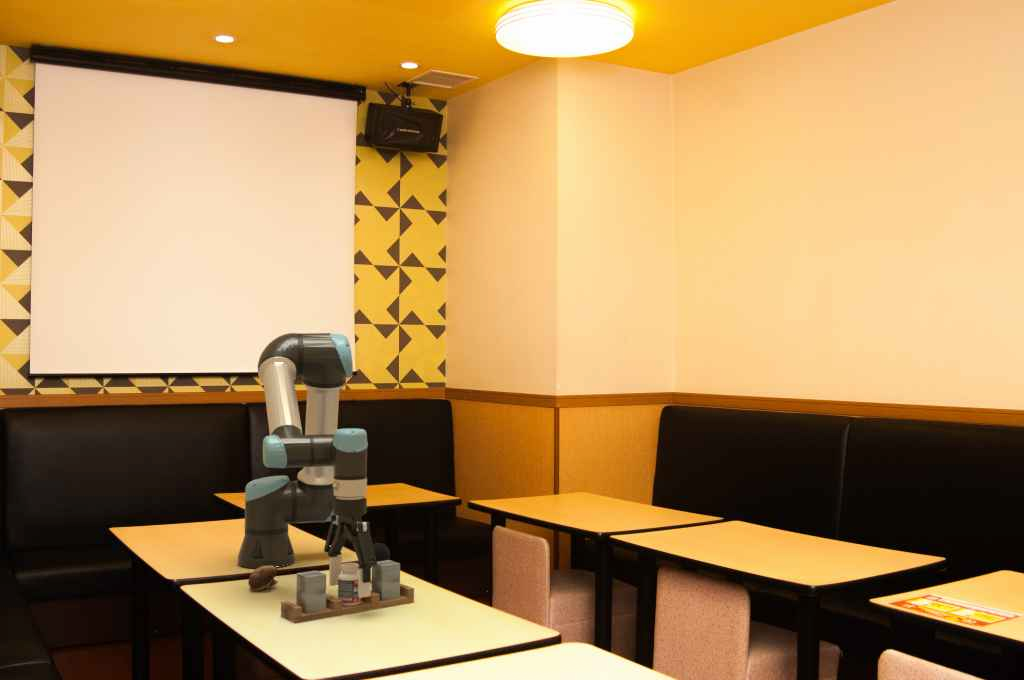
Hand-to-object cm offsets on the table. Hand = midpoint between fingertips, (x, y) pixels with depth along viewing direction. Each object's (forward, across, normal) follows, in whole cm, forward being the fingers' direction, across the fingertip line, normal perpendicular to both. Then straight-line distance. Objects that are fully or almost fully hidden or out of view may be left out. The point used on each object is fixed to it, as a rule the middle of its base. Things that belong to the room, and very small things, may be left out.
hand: (349, 590), depth 228 cm
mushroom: (+4, -29, -8) cm, 30 cm away
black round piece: (+4, -18, +18) cm, 26 cm away
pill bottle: (+3, 0, 0) cm, 3 cm away
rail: (+4, 0, 0) cm, 4 cm away
